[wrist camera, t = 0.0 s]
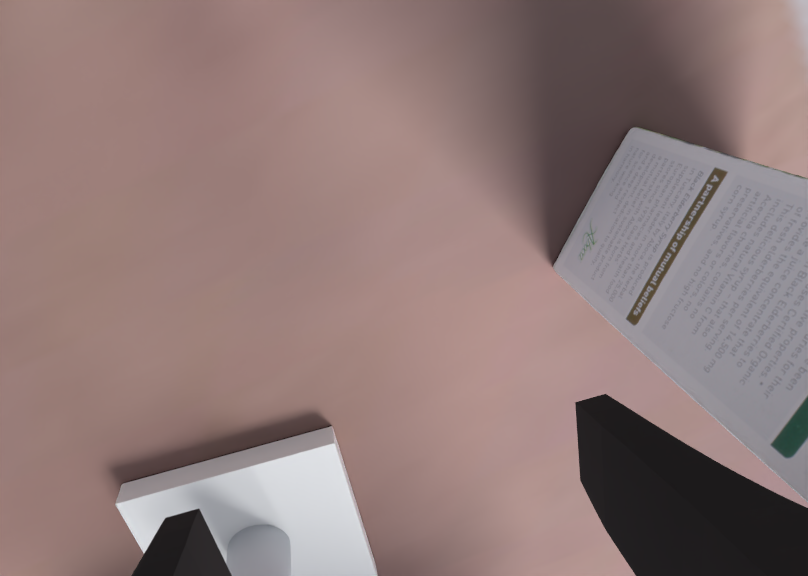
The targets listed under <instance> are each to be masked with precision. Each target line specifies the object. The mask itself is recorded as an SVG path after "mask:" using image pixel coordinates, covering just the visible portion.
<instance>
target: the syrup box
mask: <svg viewBox="0 0 808 576" xmlns="http://www.w3.org/2000/svg"><path fill="white" fill-rule="evenodd" d="M553 269H554V270H555V271H556V273H557V274H558V275H559V276H561V277H562V278H563V279H564V280H565V281H566V282H567V283H568V284H569V285H570V286H571V287H572V288H573V289H574V290H575V291H576V292H577V293H579V294H580V295H581V296H582V297H583V298H584V299H585V300H586V301H587V302H588V303H589V304H590V305H591V306H592V307H593V308H594V309H595V310H596V311H597V312H599V313H600V314H601V315H602V316H603V317H604V318H605V319H606V320H607V321H608V322H609V323H610V324H611V325H612V326H613V327H615V328H616V329H617V330H618V331H619V332H620V333H621V334H622V335H623V336H624V337H626V338H627V339H628V340H629V341H630V342H631V343H632V344H633V345H634V346H635V347H636V348H637V349H638V350H640V351H641V352H642V353H643V354H644V355H645V356H646V357H647V358H648V359H650V360H651V361H652V362H653V363H654V364H655V365H656V366H657V367H658V368H659V369H661V370H662V371H663V372H664V373H665V374H666V375H667V376H668V377H669V378H670V379H672V380H673V381H674V382H675V383H676V384H677V385H678V386H679V387H680V388H681V389H682V390H684V391H685V392H686V393H687V394H688V395H689V396H690V397H691V398H692V399H693V400H694V401H696V402H697V403H698V404H699V405H700V406H701V407H702V408H703V409H704V410H706V411H707V412H708V413H709V414H710V415H711V416H712V417H713V418H715V419H716V420H717V421H718V422H719V423H720V424H721V425H722V426H723V427H724V428H725V429H727V430H728V431H729V432H730V433H731V434H732V435H733V436H734V437H735V438H737V439H738V440H739V441H740V442H741V443H742V444H743V445H745V446H746V447H747V448H748V449H749V450H750V451H751V452H752V453H753V454H754V455H756V456H757V457H758V458H759V459H760V460H761V461H762V462H763V463H764V464H765V465H766V466H768V467H769V468H770V469H771V470H772V471H773V472H774V473H775V474H777V475H778V476H779V477H780V478H781V479H782V480H783V481H784V482H786V483H787V484H788V485H789V486H790V487H791V488H792V489H793V490H795V491H796V492H797V493H798V494H799V495H800V496H801V497H802V498H803V499H804V500H806V501H807V502H808V178H805V177H802V176H798V175H794V174H791V173H788V172H784V171H781V170H778V169H774V168H771V167H768V166H764V165H761V164H758V163H755V162H752V161H748V160H745V159H741V158H738V157H734V156H731V155H728V154H725V153H722V152H718V151H715V150H712V149H709V148H706V147H703V146H699V145H696V144H693V143H690V142H687V141H683V140H680V139H676V138H673V137H670V136H667V135H663V134H660V133H657V132H653V131H650V130H646V129H643V128H640V127H633V128H631V129H630V130H629V132H628V133H627V135H626V136H625V138H624V140H623V141H622V143H621V145H620V147H619V148H618V150H617V152H616V153H615V155H614V157H613V158H612V160H611V162H610V163H609V165H608V167H607V168H606V170H605V172H604V174H603V176H602V177H601V179H600V181H599V183H598V185H597V186H596V188H595V190H594V192H593V194H592V196H591V197H590V199H589V201H588V203H587V205H586V207H585V208H584V210H583V212H582V214H581V216H580V217H579V219H578V221H577V223H576V225H575V227H574V229H573V230H572V232H571V234H570V236H569V238H568V240H567V241H566V243H565V245H564V247H563V249H562V251H561V252H560V254H559V256H558V258H557V260H556V262H555V264H554V266H553Z"/></svg>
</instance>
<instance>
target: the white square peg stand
mask: <svg viewBox="0 0 808 576" xmlns="http://www.w3.org/2000/svg"><path fill="white" fill-rule="evenodd" d="M115 505H116V506H117V508H118V510H119V511H120V513H121V515H122V517H123V518H124V520H125V522H126V524H127V525H128V527H129V529H130V531H131V532H132V534H133V536H134V538H135V539H136V541H137V543H138V544H139V546H140V548H141V550H142V551H143V553H145V552H146V550H147V548H148V546H149V545H150V543H151V541H152V539H153V538H154V536H155V534H156V533H157V531H158V529H159V528H160V526H161V524H162V523H163V521H164V519H165V518H167V517H170V516H174V515H177V514H181V513H184V512H188V511H191V510H195V509H200V511H201V513H202V515H203V517H204V519H205V521H206V523H207V525H208V527H209V529H210V532H211V534H212V536H213V538H214V540H215V542H216V544H217V546H218V548H219V550H220V552H221V554H222V556H223V558H224V560H225V562H226V565H227V567H228V569H229V571H230V573H231V575H232V576H377V570H376V564H375V561H374V558H373V554H372V551H371V548H370V545H369V542H368V538H367V535H366V532H365V529H364V526H363V522H362V519H361V516H360V513H359V510H358V506H357V503H356V500H355V497H354V494H353V490H352V487H351V484H350V481H349V478H348V474H347V471H346V468H345V465H344V462H343V459H342V455H341V452H340V449H339V446H338V443H337V439H336V436H335V433H334V430H333V427H332V426H330V427H327V428H323V429H319V430H316V431H312V432H309V433H305V434H301V435H298V436H294V437H290V438H287V439H283V440H280V441H276V442H272V443H269V444H265V445H261V446H258V447H254V448H250V449H247V450H243V451H240V452H236V453H232V454H229V455H225V456H221V457H218V458H214V459H211V460H207V461H203V462H200V463H196V464H192V465H189V466H185V467H182V468H178V469H174V470H171V471H167V472H163V473H160V474H156V475H152V476H149V477H145V478H142V479H138V480H134V481H131V482H127V483H123V484H122V485H121V488H120V491H119V494H118V497H117V500H116V503H115Z"/></svg>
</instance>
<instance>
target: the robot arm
mask: <svg viewBox="0 0 808 576" xmlns="http://www.w3.org/2000/svg"><path fill="white" fill-rule="evenodd" d="M575 403H576V418H577V434H578V449H579V464H580V479H581V482H582V484H583V486H584V488H585V490H586V492H587V494H588V496H589V498H590V500H591V502H592V504H593V506H594V508H595V510H596V512H597V514H598V516H599V518H600V520H601V522H602V524H603V526H604V527H605V529H606V531H607V532H608V534H609V535H610V537H611V539H612V540H613V542H614V543H615V545H616V546H617V548H618V549H619V551H620V552H621V554H622V555H623V557H624V558H625V560H626V561H627V563H628V564H629V566H630V567H631V569H632V570H633V572H634V573H635V575H636V576H808V508H806V507H804V506H802V505H800V504H797V503H795V502H793V501H791V500H789V499H787V498H785V497H783V496H781V495H778V494H776V493H774V492H772V491H770V490H768V489H767V488H765V487H763V486H761V485H759V484H757V483H755V482H753V481H751V480H749V479H747V478H745V477H744V476H742V475H740V474H738V473H736V472H734V471H732V470H730V469H729V468H727V467H725V466H723V465H721V464H720V463H718V462H716V461H714V460H712V459H711V458H709V457H707V456H706V455H704V454H702V453H700V452H699V451H697V450H695V449H694V448H692V447H690V446H688V445H687V444H685V443H683V442H682V441H680V440H678V439H677V438H675V437H674V436H672V435H670V434H669V433H667V432H665V431H664V430H662V429H661V428H659V427H657V426H656V425H654V424H653V423H651V422H649V421H648V420H646V419H645V418H643V417H641V416H640V415H638V414H637V413H635V412H633V411H632V410H630V409H629V408H627V407H626V406H624V405H622V404H621V403H619V402H618V401H616V400H614V399H613V398H611V397H610V396H608V395H606V394H604V395H600V396H597V397H593V398H590V399H586V400H582V401H579V402H575ZM132 576H232V575H231V573H230V571H229V569H228V567H227V565H226V562H225V560H224V558H223V556H222V554H221V552H220V550H219V548H218V546H217V544H216V542H215V540H214V538H213V536H212V534H211V532H210V529H209V527H208V525H207V523H206V521H205V519H204V517H203V515H202V513H201V511H200V509H195V510H191V511H188V512H184V513H181V514H177V515H174V516H170V517H167V518H165V519H164V521H163V523H162V524H161V526H160V528H159V529H158V531H157V533H156V534H155V536H154V538H153V539H152V541H151V543H150V545H149V546H148V548H147V550H146V552H145V553H144V555H143V557H142V559H141V560H140V562H139V564H138V566H137V567H136V569H135V571H134V572H133V574H132Z"/></svg>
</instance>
